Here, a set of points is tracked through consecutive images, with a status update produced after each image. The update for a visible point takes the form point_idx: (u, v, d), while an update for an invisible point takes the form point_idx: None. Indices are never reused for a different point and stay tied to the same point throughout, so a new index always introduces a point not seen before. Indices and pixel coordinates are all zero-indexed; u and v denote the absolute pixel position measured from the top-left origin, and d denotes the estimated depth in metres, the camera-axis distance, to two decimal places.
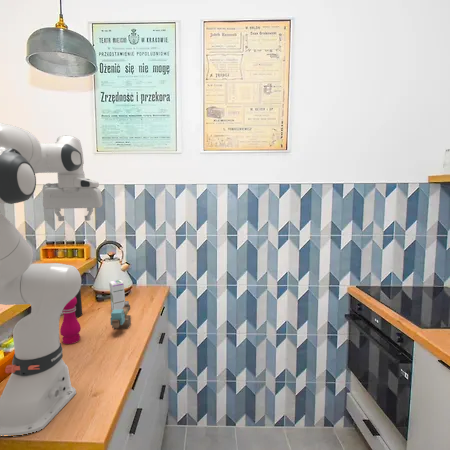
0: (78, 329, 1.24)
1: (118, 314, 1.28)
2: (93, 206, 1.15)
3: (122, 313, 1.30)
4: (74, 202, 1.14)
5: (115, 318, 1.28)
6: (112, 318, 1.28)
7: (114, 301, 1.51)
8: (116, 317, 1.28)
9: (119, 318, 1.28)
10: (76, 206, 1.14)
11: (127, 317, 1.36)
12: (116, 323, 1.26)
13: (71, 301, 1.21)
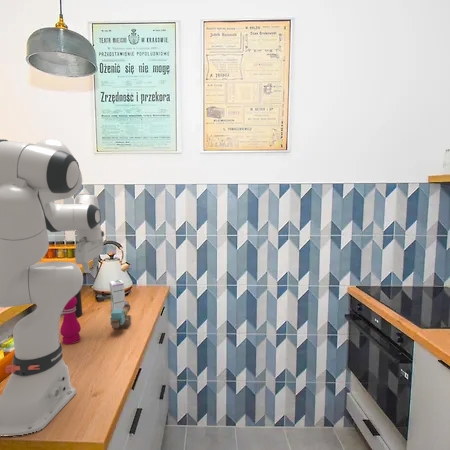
0: (78, 329, 1.24)
1: (118, 314, 1.28)
2: (101, 252, 1.33)
3: (122, 313, 1.30)
4: (95, 251, 1.27)
5: (115, 318, 1.28)
6: (112, 318, 1.28)
7: (114, 301, 1.51)
8: (116, 317, 1.28)
9: (119, 318, 1.28)
10: (96, 255, 1.27)
11: (127, 317, 1.36)
12: (116, 323, 1.26)
13: (71, 301, 1.21)
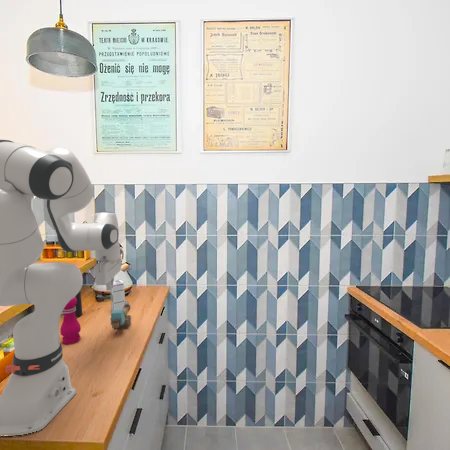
0: (78, 329, 1.24)
1: (118, 314, 1.28)
2: (119, 270, 1.29)
3: (122, 313, 1.30)
4: (114, 270, 1.22)
5: (115, 318, 1.28)
6: (112, 318, 1.28)
7: (114, 301, 1.51)
8: (116, 317, 1.28)
9: (119, 318, 1.28)
10: (115, 274, 1.23)
11: (127, 317, 1.36)
12: (116, 323, 1.26)
13: (71, 301, 1.21)
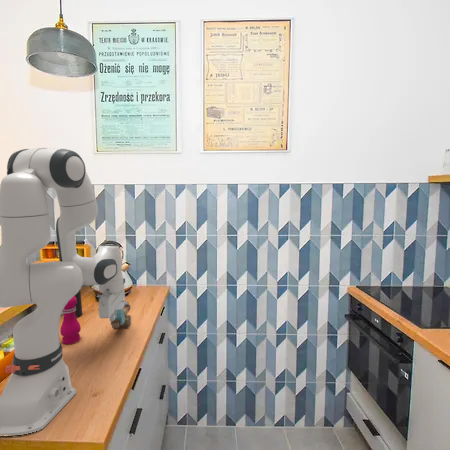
0: (78, 329, 1.24)
1: (118, 314, 1.28)
2: (122, 299, 1.30)
3: (122, 313, 1.30)
4: (117, 301, 1.24)
5: (115, 318, 1.28)
6: None
7: None
8: (116, 317, 1.28)
9: (119, 318, 1.28)
10: (118, 304, 1.24)
11: (127, 317, 1.36)
12: (116, 323, 1.26)
13: (71, 301, 1.21)
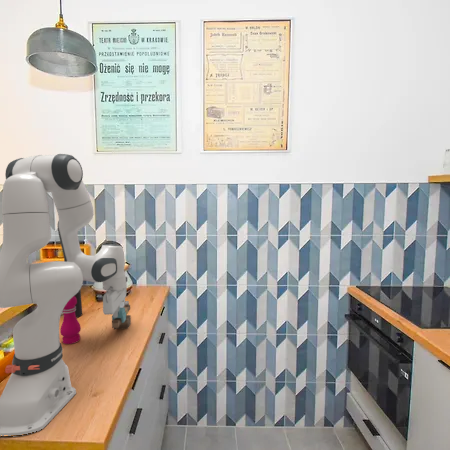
0: (78, 329, 1.24)
1: (119, 312, 1.30)
2: (124, 297, 1.36)
3: (123, 311, 1.32)
4: (120, 298, 1.29)
5: None
6: None
7: None
8: None
9: (120, 316, 1.30)
10: (121, 301, 1.30)
11: (127, 317, 1.36)
12: (116, 323, 1.26)
13: (71, 301, 1.21)
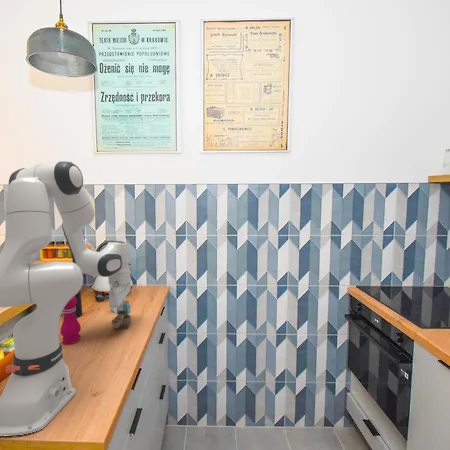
0: (78, 329, 1.24)
1: (124, 305, 1.37)
2: (129, 291, 1.43)
3: (128, 305, 1.39)
4: (125, 292, 1.36)
5: None
6: None
7: None
8: None
9: (125, 309, 1.37)
10: (125, 295, 1.37)
11: (127, 317, 1.36)
12: (116, 323, 1.26)
13: (71, 301, 1.21)
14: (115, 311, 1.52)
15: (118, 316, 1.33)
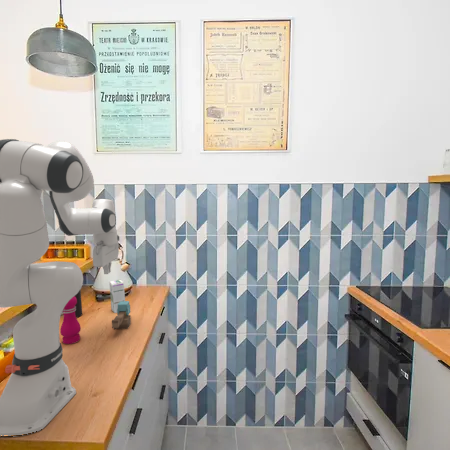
0: (78, 329, 1.24)
1: (124, 305, 1.37)
2: (116, 256, 1.34)
3: (128, 304, 1.39)
4: (111, 255, 1.28)
5: (121, 309, 1.37)
6: (119, 309, 1.37)
7: (114, 301, 1.51)
8: (122, 308, 1.37)
9: (125, 309, 1.38)
10: (112, 259, 1.28)
11: (127, 317, 1.36)
12: (116, 323, 1.26)
13: (71, 301, 1.21)
14: (115, 311, 1.52)
15: (118, 316, 1.33)
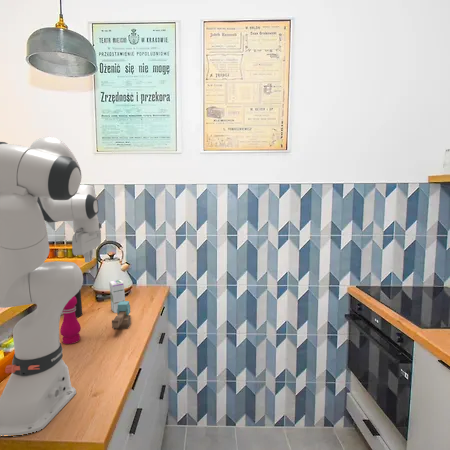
0: (78, 329, 1.24)
1: (124, 305, 1.37)
2: (99, 244, 1.31)
3: (128, 304, 1.39)
4: (93, 243, 1.24)
5: (121, 309, 1.37)
6: (119, 309, 1.37)
7: (114, 301, 1.51)
8: (122, 308, 1.37)
9: (125, 309, 1.38)
10: (94, 247, 1.25)
11: (127, 317, 1.36)
12: (116, 323, 1.26)
13: (71, 301, 1.21)
14: (115, 311, 1.52)
15: (118, 316, 1.33)
